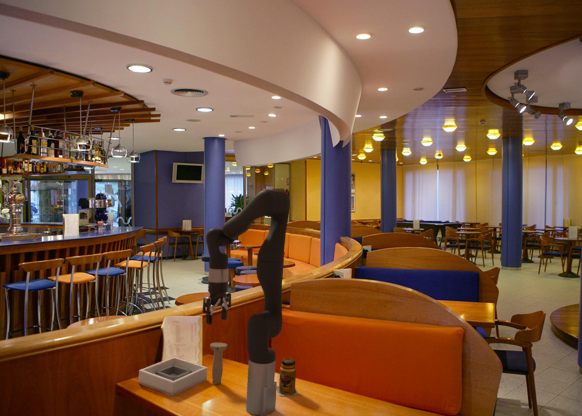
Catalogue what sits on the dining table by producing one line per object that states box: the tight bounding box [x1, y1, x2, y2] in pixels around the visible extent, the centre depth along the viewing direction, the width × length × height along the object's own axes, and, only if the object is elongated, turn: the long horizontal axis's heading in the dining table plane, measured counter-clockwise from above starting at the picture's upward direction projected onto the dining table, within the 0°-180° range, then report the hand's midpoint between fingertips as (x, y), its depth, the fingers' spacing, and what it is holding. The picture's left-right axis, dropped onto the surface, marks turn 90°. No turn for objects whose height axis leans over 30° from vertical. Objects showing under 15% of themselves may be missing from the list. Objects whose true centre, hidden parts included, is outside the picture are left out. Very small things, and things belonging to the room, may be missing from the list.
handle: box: [209, 342, 228, 385], centre depth 166 cm, size 5×6×15 cm
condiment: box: [276, 357, 300, 397], centre depth 163 cm, size 7×8×12 cm
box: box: [137, 356, 209, 397], centre depth 166 cm, size 18×18×5 cm
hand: (216, 321), depth 166 cm, fingers open, 8 cm apart
